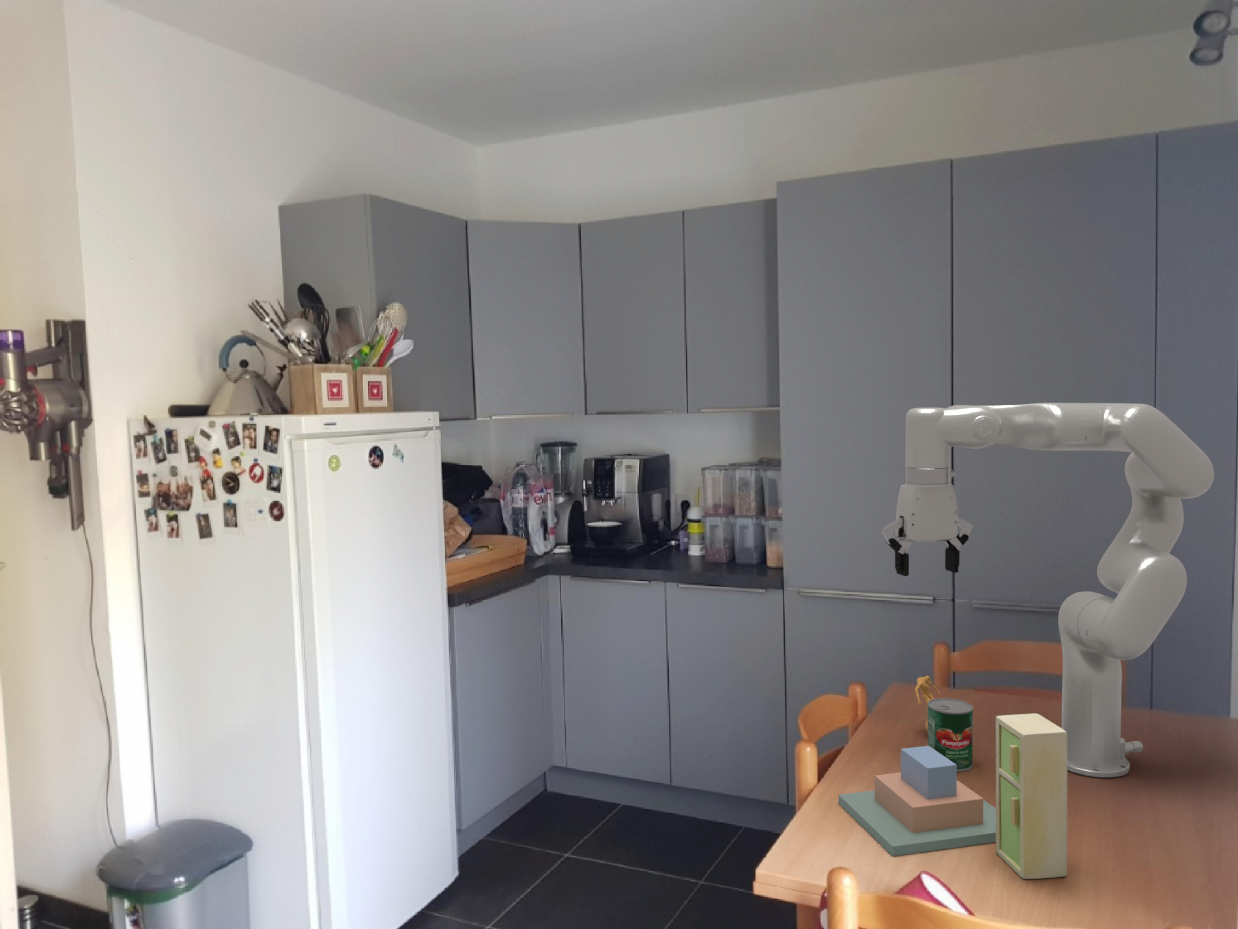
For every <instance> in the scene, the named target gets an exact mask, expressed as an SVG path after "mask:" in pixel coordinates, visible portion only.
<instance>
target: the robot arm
mask: <svg viewBox="0 0 1238 929" xmlns="http://www.w3.org/2000/svg"><path fill="white" fill-rule="evenodd" d="M992 446H993V447H1009V448H1011V447H1012V448H1019V449H1026V450H1032V451H1047V452H1048V451H1050V452H1053V451H1054V452H1061V451H1062V452H1063V451H1070V452H1075V451H1077V452H1078V451H1079V452H1084V451H1086V452H1087V451H1089V452H1090V451H1091V452H1096V451H1097V452H1098V451H1099V452H1103V451H1104V452H1108V451H1109V452H1122V453H1123V452H1126V453H1130V455H1128V457H1127V459H1126V461H1125V464H1124V475H1125V479H1126V482H1127V484H1128V486H1129V489H1130V493H1131V502H1132V504H1131V510H1130V512H1129V514H1128V517H1127V519H1126V520H1125V522H1124V523H1123V525H1122V527H1121V528H1120V530H1119V531H1118V533H1117V534H1116V536H1115V537H1114V539H1113V540H1112V542H1111V543H1110V544H1109V546H1108V547H1107V549H1106V551H1105V552H1104V554H1103V555H1102V557H1101V559H1100V560H1099V562H1098V566H1097V568H1096V575H1097V578H1098V581H1099V583H1101V584H1102V585H1103V587H1105V588H1106V589H1107V590H1110V591H1112V592H1113V593H1116V594H1117V596H1116V597H1115V598H1113V597H1110V596H1107V595H1104V594H1102V593H1098V592H1095V591H1078V592H1075V593H1073V594H1071V595H1069V596H1067V598H1065V600H1064V601H1063V602H1062V603H1061V606H1060V608H1059V611H1058V617H1057V618H1058V621H1057V622H1058V631H1059V637H1060V643H1061V651H1062V652H1061V654H1062V682H1061V683H1062V684H1061V686H1062V689H1061V692H1062V693H1061V728H1062V729H1064V730H1065V731H1066V732H1067V772H1068V771H1069V772H1072V773H1075V774H1078V775H1081V776H1087V777H1094V778H1106V779H1107V778H1117V777H1122V776H1125V775H1126V774H1128V773H1129V772H1130V766H1131V763H1130V761H1129V760H1128V758H1126V756H1127V755H1129V753H1141V752H1143V750H1144V746H1143V743H1142V742H1141V741H1140V740H1135V741H1134V740H1132V741H1127V742H1126V740H1125V738H1124V737H1123V738H1122V737H1121V730H1122V729H1121V726H1122V724H1121V722H1122V685H1123V684H1122V683H1123V672H1122V671H1123V670H1122V669H1123V667H1122V662H1121V661H1128V660H1133V659H1136V658H1137V657H1140V656H1141V655H1142V654H1144V653H1145V652H1146V651H1147V650H1148V649H1149V648H1150V647H1151V645H1152V644H1153V643H1154V642H1155V640H1156V639H1157V637H1158V636H1159V634H1160V632H1161V631H1162V630H1163V628H1164V627H1165V625H1166V623H1168V621H1169V619H1170V618H1171V616H1172V615H1173V614H1174V612H1175V610H1176V609H1177V608H1178V606H1179V604H1180V602H1181V601H1182V599H1183V598H1184V596H1185V592H1186V589H1187V583H1188V576H1187V571H1186V568H1185V566H1184V565H1183V563H1182V561H1181V560H1180V559H1179V558H1178V557H1176V556H1174V555H1172V554H1171V551H1172V550H1173V547H1174V545H1175V544H1176V543H1177V541H1178V539H1179V537H1180V535H1181V534H1182V530H1183V527H1184V519H1185V516H1184V509H1183V508H1184V507H1183V503H1182V500H1184V499H1185V500H1187V499H1194V498H1197V497H1201V496H1202V495H1203V494H1205V493H1207V491H1209V489H1210V488H1211V487H1212V484H1213V482H1214V478H1215V471H1214V466H1213V464H1212V461H1211V460H1210V458H1209V457H1208V455H1207V454H1206V453H1205V452H1204V451H1203V450H1202V449H1201V448H1200V447H1199V446H1198V445H1197V444H1196V443H1195V442H1194V441H1193V440H1191V438H1190V437H1189V436H1188V435H1187V434H1186V433H1184V432H1183V430H1181V428H1179V427H1178V426H1177V425H1176V424H1175V423H1174V422H1173V421H1172V420H1171V419H1170V418H1169V417H1168V416H1167V415H1165V414H1164V413H1163V412H1161V411H1160V410H1159V409H1157V408H1156V407H1154V406H1152V405H1150V404H1147V403H1131V402H1130V403H1129V402H1128V403H1125V402H1124V403H1123V402H1122V403H1121V402H1120V403H1119V402H1118V403H1117V402H1116V403H1115V402H1114V403H1113V402H1036V403H1035V402H1034V403H1026V404H1024V403H1023V404H1012V405H1011V404H1010V405H1009V404H1008V405H1006V404H1005V405H982V404H981V405H975V404H973V405H970V404H955V405H951V406H947V407H946V408H944V407H929V406H928V407H915V408H911V409H909V410H908V411H907V412H906V415H905V481H904V482H905V484H901V485H900V486H899V487H900V489H899V492H898V497H897V502H896V503H897V504H896V512H895V520H893V521H892V522H890V523H888V524H887V525H885V526H884V527H882V528H881V534H882V536H883V538H884V540H885V543H886V544H887V545H888V546H889V547H890V548H891V550H892V551H893V552H894V568H895V571H896V572H895V573H896V574H897V575H900V576H903V577H908V576H909V574H910V555H909V553H907V551H908V549H909V548H910V547H911V546H912V544H914V543H933V542H944V544H946V546H947V547H946V548H945V550H944V553H945V554H944V568H945V571H949V572H951V573H954V574H956V573H959V567H960V555H961V554H960V551H962V550H963V547H964V545H965V544H966V543H967V541H968V540H969V539H970V538H969V536H970V535H971V532H972V531H973V528H974V524H972V523H971V522H969V521H966V520H965V519H963V518H960V517H959V515H958V514H959V513H958V504H957V502H958V501H957V497H956V493H955V487H954V485H953V484H951V482H952V478H956V476H957V471H956V469H952V467H951V449H952V448H953V447H954V448H955V447H957V448H966V449H967V448H968V449H973V450H974V449H977V450H978V449H983V448H987V447H992ZM959 528H960V532H959ZM958 532H959V533H958ZM894 533H895V536H894ZM895 537H896V538H897V539H896V538H895ZM1128 771H1129V772H1128ZM1124 774H1125V775H1124Z"/></svg>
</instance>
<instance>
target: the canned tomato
mask: <svg viewBox="0 0 1238 929" xmlns="http://www.w3.org/2000/svg"><path fill="white" fill-rule="evenodd" d="M927 707H928V713H927V720H928V732H927V746H930V747H931V748H933V749H934V750H936V751H937V752H939V753H940V754H941V755H943V756H944V757H946V758H947V759H949V760H950V761H952V762H953V763H955V764H956V765H957V773H958V772H966V770H967V771H969V770H971V769H972V768H973V765H974V763H973V759H974V758H973V751H974V750H973V748H974V747H973V744H974V741H973V739H974V736H973V734H974V733H973V731H974V728H973V727H974V726H973V724H974V723H973V722H974V721H973V719H974V712H973V710H974V706H973V705H972V704H971V703H969V702H967V701H965V700H962V699H956V698H949V697H947V698H946V697H938V698H934V699H933V700H930V701H929V702H928V704H927Z"/></svg>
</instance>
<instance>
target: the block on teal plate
mask: <svg viewBox="0 0 1238 929" xmlns="http://www.w3.org/2000/svg"><path fill="white" fill-rule="evenodd" d="M838 805H839V806H841V807H842V808H843V809H844V810H845V812H847V813H848V814H849V816H851V817H852V818H853V819H854V820H855V821H856V822H857V823H858V824H859V825H860V826H861V827H862V828H863V829H864V828H865V829H864V830H865V831H866V832H867V833H868V834H870V836H871V837H872V838H873V839H874V838H875V839H874V840H875V841H876V842H877V843H878V844H879V845H880V846H881V847H883V848H884V849H885V850H886V851H887V852H888V853H889V854H890V856H892V857H897V856H905V855H913V854H920V852H921V853H926V852H935V851H940V850H941V851H942V850H948V849H956V848H962V847H964V848H965V847H971V846H977V845H978V846H979V845H985V844H990V843H991V844H992V843H996V807H995V806H993V805H991V804H990V803H988V801H986V800H985V799H984V798H983V797H982V796H980V795H979V794H977V793H976V792H975V791H973V790H972V789H970V788H969V787H968V786H966V785H965V784H963V783H962V782H961V781H960V780H958V779H957V796H953V797H945V798H937V799H929V800H927V799H926V798H925V797H923V796H922V795H921V794H920V793H918V792H917V791H916V790H915V789H913V788H912V787H911V786H910V785H908V784H907V783H906V782H905V781H903V780H902V779H901V772H893V773H892V772H891V773H885V774H877V775H874V789H873V790H866V791H858V792H857V791H856V792H849V793H848V792H847V793H841V794H838ZM918 852H919V853H918Z"/></svg>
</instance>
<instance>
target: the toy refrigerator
mask: <svg viewBox="0 0 1238 929" xmlns="http://www.w3.org/2000/svg"><path fill="white" fill-rule="evenodd" d="M995 808H996V842H995V853H996V854H997V855H998V856H999V858H1001V859H1002V860H1003V861H1004V862H1005V863H1006V865H1008V866H1009V867H1010V868H1011V869H1012V870H1013V871H1014V872H1015V873H1016V874H1017V875H1018V876H1019V878H1021V879H1022V880H1035V879H1036V880H1037V879H1047V878H1048V879H1050V878H1061V877H1062V878H1063V877H1067V874H1068V770H1067V732H1066V731H1065V730H1064V729H1062V726H1059V725H1057V724H1056V723H1054V722H1052V721H1050V720H1049V719H1047V718H1045V717H1044V716H1043V715H1041V714H1039V713H1036V712H1035V713H1034V712H1033V713H1022V714H1021V713H1020V714H1019V713H1018V714H1005V715H1002V714H1001V715H997V716H995Z"/></svg>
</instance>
